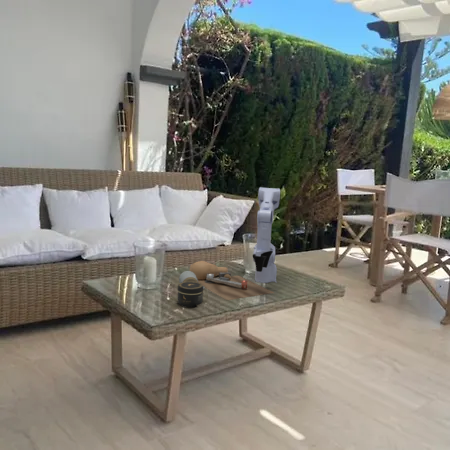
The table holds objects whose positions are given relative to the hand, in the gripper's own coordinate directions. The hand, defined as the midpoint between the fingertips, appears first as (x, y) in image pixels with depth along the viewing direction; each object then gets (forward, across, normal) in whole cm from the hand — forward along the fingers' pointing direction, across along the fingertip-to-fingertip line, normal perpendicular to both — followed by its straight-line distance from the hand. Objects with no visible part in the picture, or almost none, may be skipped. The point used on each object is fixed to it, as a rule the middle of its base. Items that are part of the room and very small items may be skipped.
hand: (261, 269), depth 208 cm
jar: (+11, +27, -20) cm, 36 cm away
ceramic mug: (+11, +12, -27) cm, 31 cm away
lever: (+9, 0, -15) cm, 18 cm away
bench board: (+10, +1, -12) cm, 16 cm away
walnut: (+9, -6, -17) cm, 21 cm away
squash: (+11, -9, -28) cm, 31 cm away
